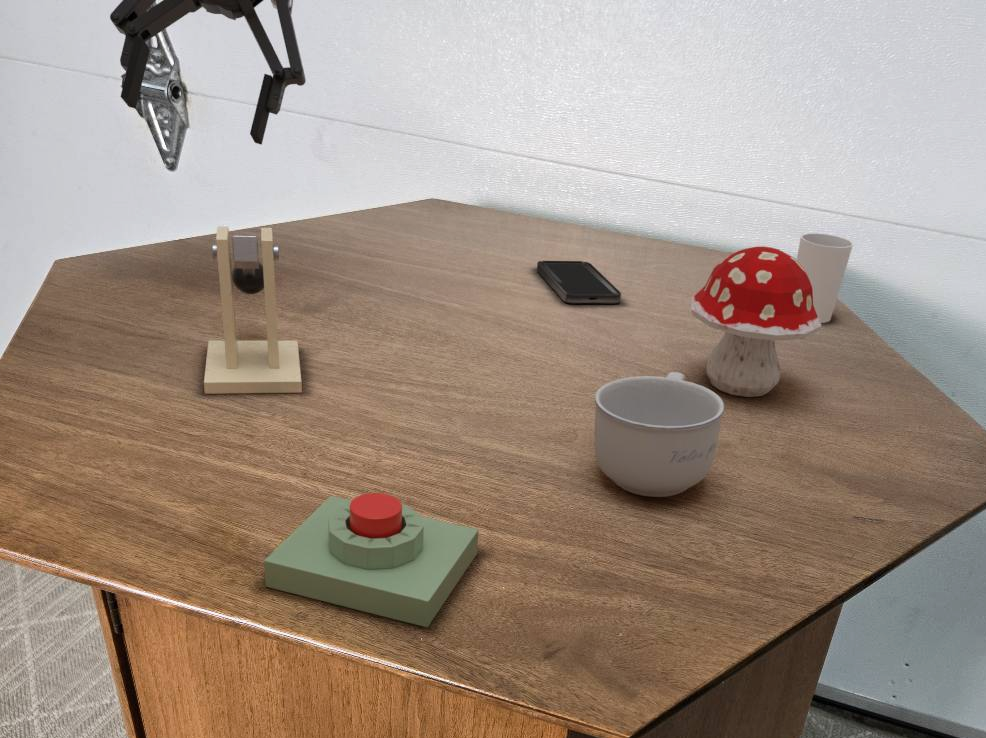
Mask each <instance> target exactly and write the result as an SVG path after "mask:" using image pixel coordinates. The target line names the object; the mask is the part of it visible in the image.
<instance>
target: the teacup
mask: <svg viewBox="0 0 986 738" xmlns="http://www.w3.org/2000/svg"><path fill="white" fill-rule="evenodd" d="M594 404H595V414H594V432H593V433H594V434H593V435H594V436H593V437H594V438H593V439H594V442H593V443H594V456H595V459H596V462H597V464H598V467H599V468H600V470H601V471H602V472H603V474H604V475H605V476H606V477H608V478H609V479H610V480H612V481H613V482H614V483H615V485H617V486H618V487H620V488H621V489H623V490H624V491H627V492H628V493H632V494H635V495H637V496H643V497H649V498H667V497H671V496H676V495H678V494H680V493H683V492H685V491H687V490H688V489H689V488H691V487H693V486H696V485H698V484H699V483H700V482H701V481H703V479H705V477H706V476H707V475H708V473H709V472H710V470H711V469H712V466H713V464H714V461H715V457H716V454H717V453H716V451H717V449H718V441H719V437H720V430H721V424H722V423H721V422H722V416H723V414H724V412H725V402H724V401H723V399H722V397H721V396H720V395H718V394H717V393H715V392H714V391H713V390H711V389H710V388H708V387H705V386H703V385H701V384H697V383H695V382H692V381H687V380H686V377H685V375H684V374H683V373H681V372H677V371H671V372H669V373H667V375H666V376H653V375H652V376H651V375H644V376H643V375H642V376H641V375H640V376H639V375H637V376H629V377H623V378H618V379H615V380H613V381H609V382H607V383H605V384H603V385H602V386H600V388H598V389H597V390H596V392H595V395H594Z"/></svg>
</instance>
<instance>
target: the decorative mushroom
mask: <svg viewBox="0 0 986 738" xmlns="http://www.w3.org/2000/svg"><path fill="white" fill-rule="evenodd" d="M690 302H691V307H690V308H691V314H692V316H693V317H694V318H696V319H697V320H699V321H700V322H702V323H703V324H704V325H706V326H708V327H709V328H712V329H715V330H719V331H722V332H724V334H723V335H722V338H721V339H720V340H719V342H718V343H717V344H716V346H715V347H714V348H713V349H712V350H711V352H710V354H709V356H708V357H707V362H706V375H707V377H708V380H709V381H710V384H711V385H712V386H713V387H715V388H716V389H718V390H719V391H721V392H724V393H726V394H729V395H732V396H737V397H738V396H739V397H743V398H745V397H746V398H753V397H754V398H756V397H762V396H764V395H766V394H768V393H770V392H771V390H773V388H775V387H776V386H777V385H778V384H779V383H780V378H781V366H780V360H779V358H778V353H777V351H776V344H775V342H779V341H792V340H793V341H795V340H804V339H806V338H808V337H810V336H812V335H814V334H815V333H817V332H819V330H820V329H821V327H822V323H820V320H819V317H818V314H817V312H816V310H815V308H814V305H813V291H812V285H811V283H810V280H809V278H808V276H807V274H806V272H805V269H804V268H803V267H802V265H801V264H800V263H799V262H798V261H797V258H795V257H793V256H792V255H790V254H788V253H786V252H784V251H782V250H780V249H778V248H776V247H775V248H774V247H771V246H753V247H752V246H751V247H748V248H747V247H746V248H742V249H740V250H737V251H735V252H734V253H732V254H730V255H728V256H725V257H724V258H723V259H722V260H721V261H719V263H718V264H716V265H715V266H714V267H713V269H712V271H711V273H710V275H709V277H708V279H707V280H706V283H705V284H704V286H703V287H702V288H701V289H699V291H698V292H697V293H696V294H695V295H694V296H693V297H691V301H690Z"/></svg>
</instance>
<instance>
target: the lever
mask: <svg viewBox="0 0 986 738" xmlns="http://www.w3.org/2000/svg"><path fill="white" fill-rule="evenodd" d="M231 238H232V253H233V254H232V255H233V264H234V266H233V268H232V280H233V285H234V286H235V287H236V289H237V290H238V291H240V292H241V293H244V294H247V295H256V294H259V293H261V292H262V291H263V290H264V276H263V263H262V262H260V260H259V243H258V236H256V235H232V237H231Z"/></svg>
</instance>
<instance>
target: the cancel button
mask: <svg viewBox="0 0 986 738" xmlns="http://www.w3.org/2000/svg"><path fill="white" fill-rule="evenodd" d="M351 500H352V501H351V503H350V529H351V531H352V532H353V533H354V534H355V535H358V536H362V537H366V538H370V539H376V538H388V537H391V536H393V535H396V534H398V533H399V532H400V531H401V529H402V504H403V503H402V502H401V501H400V500H399V499H398V497H395V496H393V495H390V494H387V493H380V492H369V493H365V494H361V495H358V496H356V497H355V498H353V499H351Z"/></svg>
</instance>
